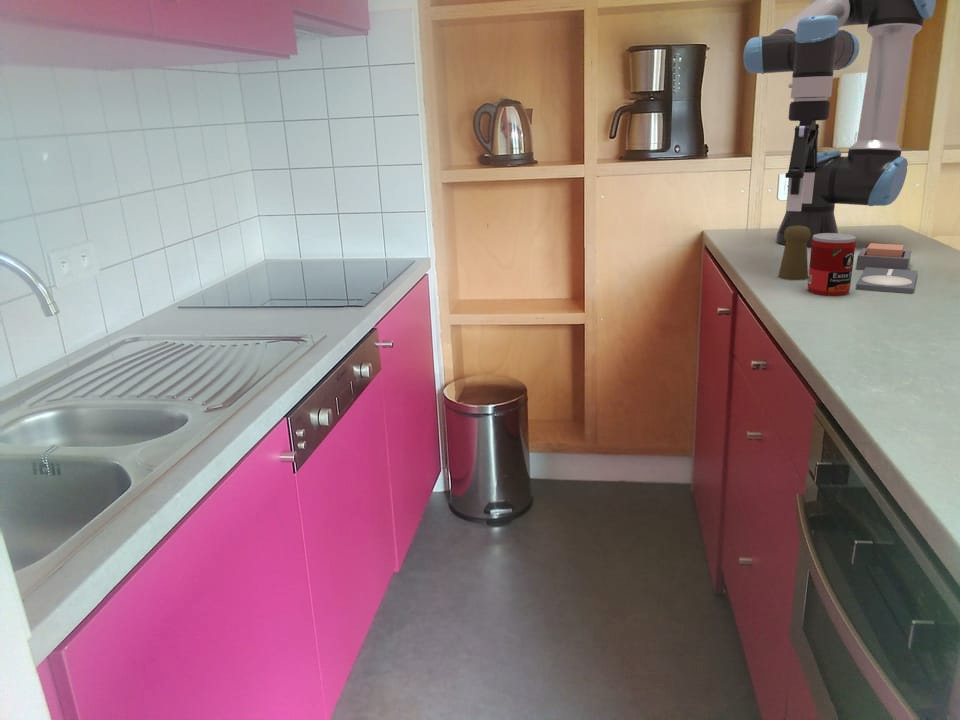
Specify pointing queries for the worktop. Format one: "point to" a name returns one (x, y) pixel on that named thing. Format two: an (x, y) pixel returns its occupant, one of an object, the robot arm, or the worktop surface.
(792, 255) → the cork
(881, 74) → the robot arm
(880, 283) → the slate board
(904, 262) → the button housing
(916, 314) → the worktop surface
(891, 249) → the button
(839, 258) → the canned food
